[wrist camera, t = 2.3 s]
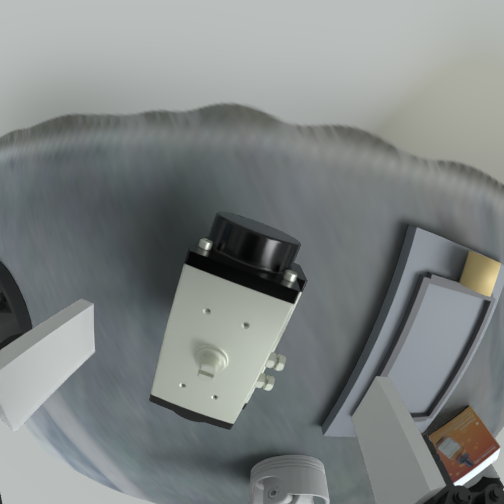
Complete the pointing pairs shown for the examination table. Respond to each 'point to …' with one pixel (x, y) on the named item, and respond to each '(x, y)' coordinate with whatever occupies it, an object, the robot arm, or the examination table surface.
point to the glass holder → (483, 480)
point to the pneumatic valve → (227, 320)
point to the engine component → (288, 480)
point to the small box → (465, 446)
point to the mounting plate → (424, 328)
